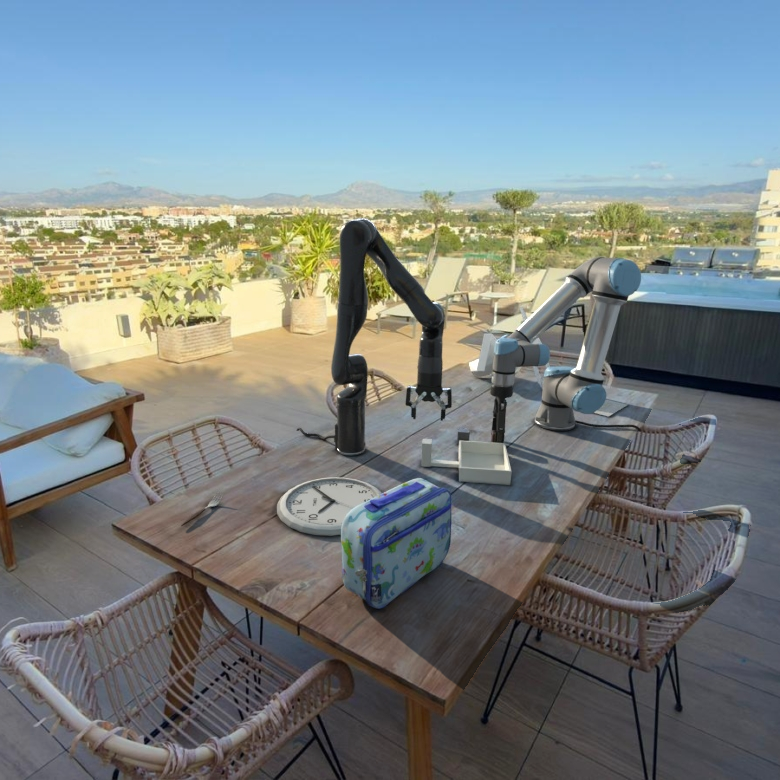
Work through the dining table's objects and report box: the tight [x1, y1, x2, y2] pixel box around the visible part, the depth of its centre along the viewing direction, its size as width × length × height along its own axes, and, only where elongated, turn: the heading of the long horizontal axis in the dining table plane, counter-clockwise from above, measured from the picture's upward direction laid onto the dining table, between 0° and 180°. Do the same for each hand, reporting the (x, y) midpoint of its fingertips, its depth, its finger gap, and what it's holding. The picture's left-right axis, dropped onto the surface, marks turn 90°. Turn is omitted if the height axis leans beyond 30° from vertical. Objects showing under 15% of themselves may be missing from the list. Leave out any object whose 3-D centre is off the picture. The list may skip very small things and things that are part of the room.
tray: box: [420, 438, 512, 486], centre depth 166 cm, size 27×21×8 cm
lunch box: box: [340, 477, 452, 610], centre depth 110 cm, size 26×11×21 cm, turn 134°
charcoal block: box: [456, 427, 471, 446], centre depth 185 cm, size 4×4×5 cm
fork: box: [180, 491, 225, 527], centre depth 138 cm, size 3×16×2 cm, turn 160°
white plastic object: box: [468, 306, 551, 390], centre depth 259 cm, size 37×45×31 cm
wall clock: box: [276, 476, 383, 537], centre depth 143 cm, size 30×2×30 cm
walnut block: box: [490, 429, 506, 443], centre depth 183 cm, size 4×4×5 cm
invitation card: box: [593, 399, 628, 418], centre depth 226 cm, size 21×1×15 cm
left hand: (428, 419), depth 164 cm, fingers open, 8 cm apart
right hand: (496, 442), depth 184 cm, fingers open, 13 cm apart
